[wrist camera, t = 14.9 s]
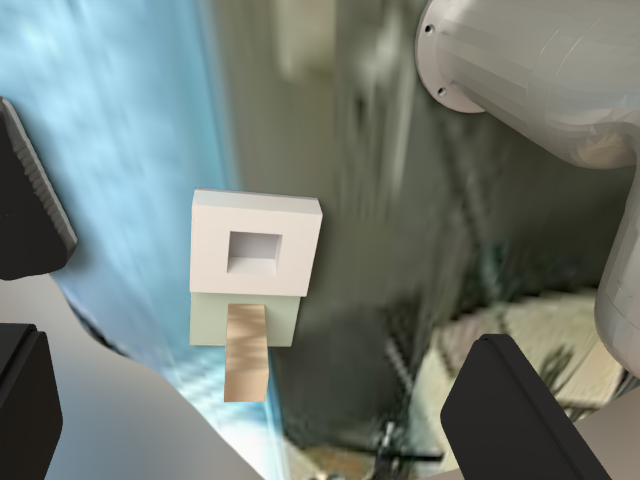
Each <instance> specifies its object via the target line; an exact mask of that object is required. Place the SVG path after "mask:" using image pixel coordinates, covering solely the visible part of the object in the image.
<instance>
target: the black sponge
mask: <svg viewBox="0 0 640 480" xmlns="http://www.w3.org/2000/svg"><path fill="white" fill-rule="evenodd" d="M76 246H77V238H76V236H75V233H74V231H73V229H72V227H71V225H70V223H69V220H68V218H67V216H66V213H65V212H64V210H63V208H62V206H61V203H60V202H59V200H58V198H57V196H56V194H55V193H54V190H53V188H52V186H51V183H50V182H49V180H48V178H47V176H46V174H45V172H44V169H43V167H42V165H41V162H40V161H39V160H38V158H37V154H36V153H35V151H34V148H33V147H32V145H31V143H30V140H29V139H28V138H27V136H26V133H25V131H24V128H23V126H22V124H21V122H20V120H19V117H18V116H17V114H16V112H15V110H14V108H13V107H12V105H11V104H10V102H8V101H7V100H6V99H4V98H3V97H2V96H0V279H2V280H5V281H6V280H15V279H19V278H23V277H26V276H34V275H42V274H46V273H50V272H53V271H56V270H59V269H62V268H63V267H64V266H65V265H66V263H67V261H68V260H69V259H70V257H71V256H72V254H73V252H74V251H75V249H76Z"/></svg>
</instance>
